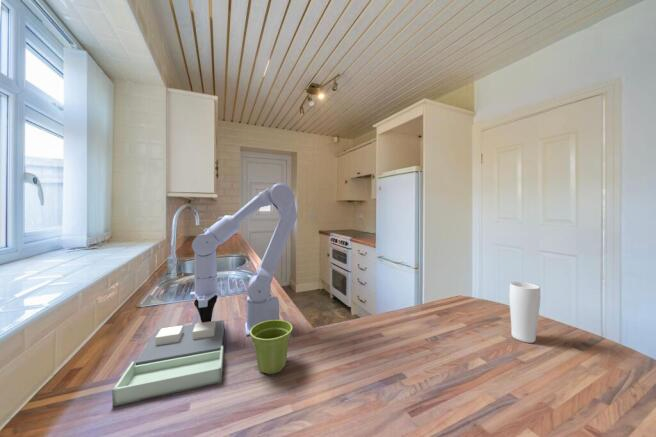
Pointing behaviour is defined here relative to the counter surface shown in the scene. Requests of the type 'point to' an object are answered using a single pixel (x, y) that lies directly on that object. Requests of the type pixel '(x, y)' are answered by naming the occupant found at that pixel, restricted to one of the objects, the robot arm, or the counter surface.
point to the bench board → (182, 345)
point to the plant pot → (271, 344)
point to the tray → (168, 377)
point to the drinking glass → (524, 310)
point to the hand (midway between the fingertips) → (206, 323)
